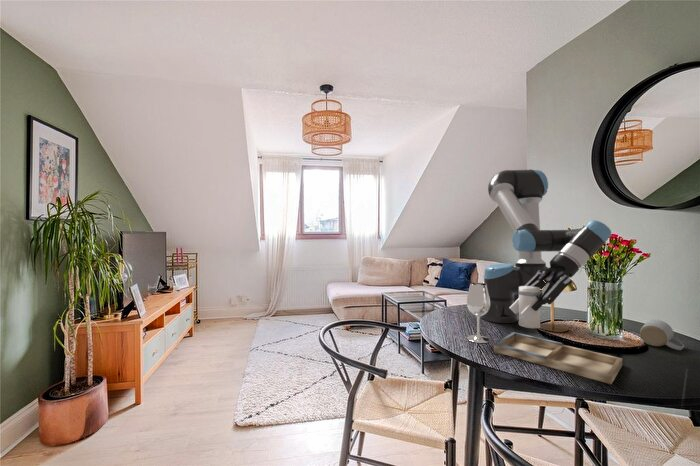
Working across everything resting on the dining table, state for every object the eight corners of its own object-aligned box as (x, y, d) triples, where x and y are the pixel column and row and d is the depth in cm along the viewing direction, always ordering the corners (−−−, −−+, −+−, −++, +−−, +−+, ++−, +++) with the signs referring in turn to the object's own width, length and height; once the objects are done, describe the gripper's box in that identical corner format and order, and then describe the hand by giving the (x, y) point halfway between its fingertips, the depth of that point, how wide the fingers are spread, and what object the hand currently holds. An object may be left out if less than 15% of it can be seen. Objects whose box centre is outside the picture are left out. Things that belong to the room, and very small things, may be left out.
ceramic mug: (637, 343, 113) (638, 321, 113) (643, 338, 118) (644, 317, 118) (681, 354, 105) (682, 330, 104) (685, 347, 110) (686, 324, 109)
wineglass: (491, 344, 113) (491, 286, 113) (466, 342, 116) (466, 285, 115) (489, 337, 121) (489, 282, 120) (466, 334, 123) (466, 281, 123)
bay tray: (493, 352, 106) (493, 343, 106) (513, 340, 117) (513, 331, 117) (611, 386, 84) (611, 374, 84) (622, 366, 95) (622, 356, 95)
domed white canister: (515, 325, 106) (515, 287, 105) (522, 321, 110) (522, 285, 109) (536, 329, 101) (536, 290, 101) (543, 325, 105) (543, 287, 105)
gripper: (600, 273, 96) (545, 331, 96) (556, 265, 115) (510, 313, 115) (582, 255, 96) (527, 313, 95) (541, 250, 115) (495, 298, 114)
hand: (518, 313), depth 105 cm, fingers closed on domed white canister, 6 cm apart
